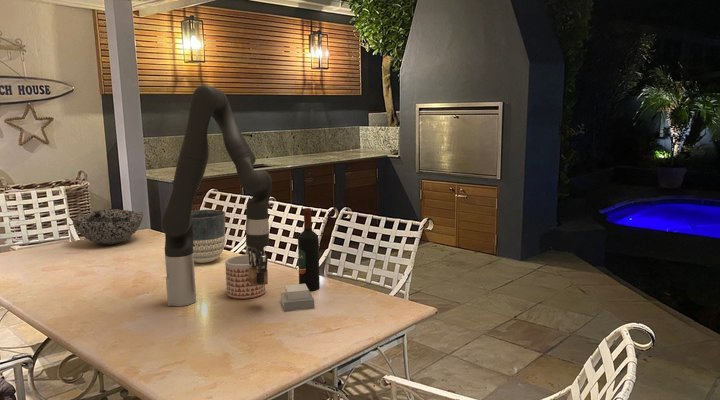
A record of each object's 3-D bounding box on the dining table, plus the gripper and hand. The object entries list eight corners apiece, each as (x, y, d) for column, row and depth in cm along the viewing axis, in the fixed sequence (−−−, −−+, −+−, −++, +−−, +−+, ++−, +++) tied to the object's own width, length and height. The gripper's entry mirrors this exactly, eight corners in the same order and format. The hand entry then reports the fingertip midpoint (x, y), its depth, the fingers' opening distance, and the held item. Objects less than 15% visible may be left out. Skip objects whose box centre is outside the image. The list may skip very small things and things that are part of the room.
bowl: (61, 250, 262) (58, 219, 259) (102, 235, 292) (99, 207, 290) (121, 252, 257) (118, 221, 254) (156, 236, 287) (154, 209, 285)
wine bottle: (316, 291, 198) (314, 211, 193) (296, 290, 200) (294, 210, 195) (321, 285, 206) (320, 207, 201) (302, 284, 207) (300, 206, 202)
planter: (236, 259, 242) (234, 212, 239) (202, 270, 226) (199, 219, 223) (206, 253, 253) (203, 208, 249) (171, 263, 237) (168, 215, 233)
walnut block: (253, 286, 179) (252, 271, 178) (248, 281, 183) (248, 267, 182) (267, 284, 181) (267, 269, 180) (262, 280, 186) (262, 265, 185)
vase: (247, 284, 207) (245, 252, 205) (273, 291, 199) (272, 257, 197) (218, 295, 196) (217, 260, 194) (245, 302, 188) (243, 266, 186)
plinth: (284, 311, 180) (283, 293, 179) (280, 301, 189) (280, 284, 188) (314, 308, 182) (314, 290, 181) (309, 298, 192) (308, 281, 191)
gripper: (275, 234, 175) (275, 285, 178) (261, 226, 187) (261, 274, 190) (253, 237, 171) (253, 288, 174) (240, 228, 184) (240, 276, 187)
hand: (257, 280), depth 182 cm, fingers closed on walnut block, 5 cm apart
